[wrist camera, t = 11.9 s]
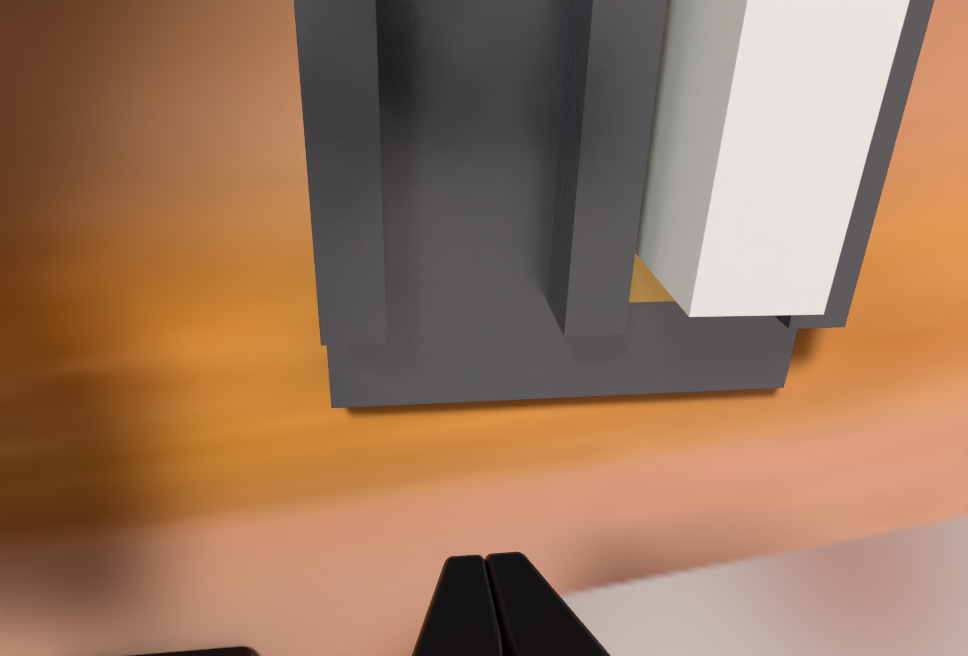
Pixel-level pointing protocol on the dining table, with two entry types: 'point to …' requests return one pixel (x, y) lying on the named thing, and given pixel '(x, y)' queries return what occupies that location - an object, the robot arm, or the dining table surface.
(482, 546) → the dining table surface
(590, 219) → the rack
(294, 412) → the dining table surface
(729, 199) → the white rectangular prism
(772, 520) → the dining table surface
